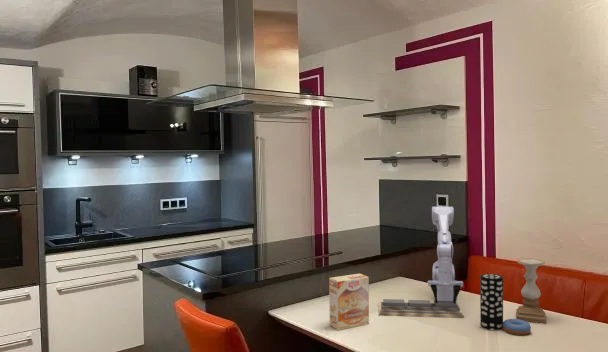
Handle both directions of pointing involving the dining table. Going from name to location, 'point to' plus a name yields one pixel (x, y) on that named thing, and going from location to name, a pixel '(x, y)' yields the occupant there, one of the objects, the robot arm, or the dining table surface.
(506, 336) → the dining table surface
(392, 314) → the switch unit
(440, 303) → the key
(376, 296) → the dining table surface
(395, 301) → the key
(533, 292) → the candle holder
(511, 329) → the doughnut
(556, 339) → the dining table surface
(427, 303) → the key middle
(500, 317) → the spotted tube
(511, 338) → the dining table surface
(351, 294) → the coffeecake box
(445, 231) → the robot arm
